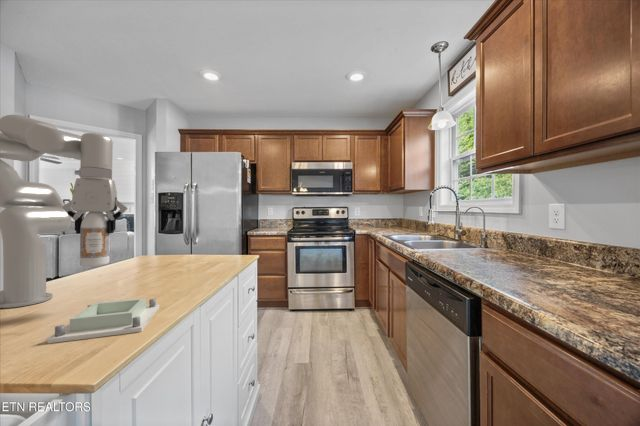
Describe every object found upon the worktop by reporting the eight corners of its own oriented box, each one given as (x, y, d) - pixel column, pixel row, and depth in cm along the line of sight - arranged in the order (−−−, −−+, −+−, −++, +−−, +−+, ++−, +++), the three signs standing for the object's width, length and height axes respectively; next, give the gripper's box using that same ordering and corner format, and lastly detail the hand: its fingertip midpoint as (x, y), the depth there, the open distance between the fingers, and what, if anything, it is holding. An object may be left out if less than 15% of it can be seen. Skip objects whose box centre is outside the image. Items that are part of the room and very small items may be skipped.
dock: (47, 343, 60) (47, 325, 60) (87, 314, 77) (87, 300, 77) (141, 331, 65) (141, 315, 65) (159, 307, 82) (159, 294, 82)
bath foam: (77, 267, 78) (78, 198, 78) (82, 263, 83) (83, 199, 83) (108, 265, 81) (109, 199, 81) (110, 261, 87) (111, 200, 87)
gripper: (53, 171, 76) (52, 234, 76) (125, 175, 82) (124, 233, 82) (68, 175, 83) (67, 232, 83) (133, 178, 89) (132, 232, 89)
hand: (95, 232), depth 82 cm, fingers closed on bath foam, 7 cm apart
